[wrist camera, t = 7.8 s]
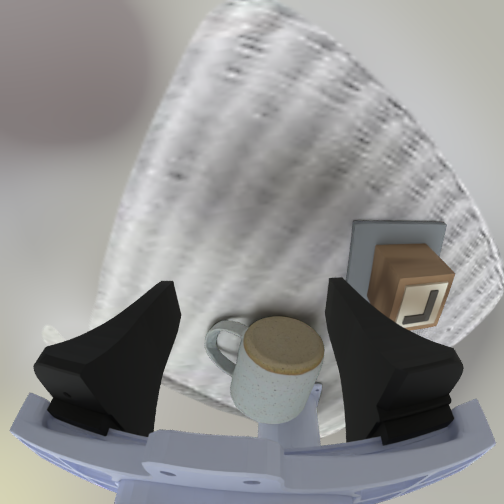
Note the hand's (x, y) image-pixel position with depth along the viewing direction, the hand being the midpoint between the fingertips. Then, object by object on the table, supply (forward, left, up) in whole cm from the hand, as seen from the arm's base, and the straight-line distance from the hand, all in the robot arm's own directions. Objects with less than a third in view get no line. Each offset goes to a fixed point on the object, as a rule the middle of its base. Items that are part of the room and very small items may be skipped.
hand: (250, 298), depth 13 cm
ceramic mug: (-13, 0, -10) cm, 16 cm away
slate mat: (-5, -12, -9) cm, 16 cm away
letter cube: (-4, -12, -9) cm, 15 cm away
